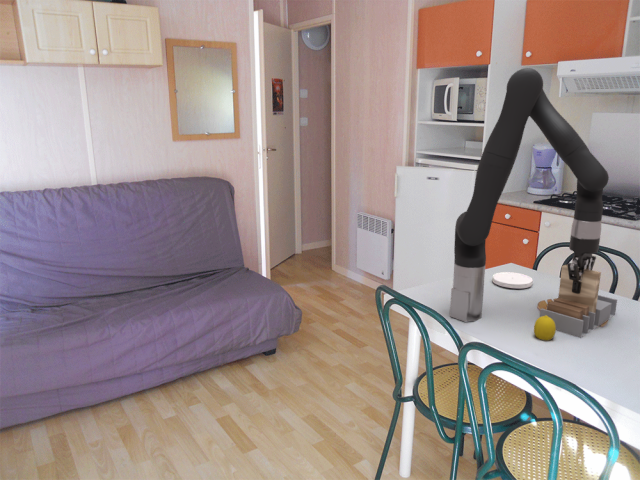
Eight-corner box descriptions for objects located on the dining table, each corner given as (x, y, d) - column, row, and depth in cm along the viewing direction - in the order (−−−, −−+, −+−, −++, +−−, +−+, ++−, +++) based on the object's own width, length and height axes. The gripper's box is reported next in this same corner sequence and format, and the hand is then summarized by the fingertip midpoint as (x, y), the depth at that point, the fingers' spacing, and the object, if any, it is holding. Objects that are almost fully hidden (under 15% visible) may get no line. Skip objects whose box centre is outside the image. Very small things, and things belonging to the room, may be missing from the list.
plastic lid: (485, 279, 196) (485, 273, 195) (518, 277, 198) (519, 271, 198) (504, 292, 183) (504, 285, 182) (540, 289, 185) (540, 282, 184)
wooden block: (590, 326, 149) (597, 274, 145) (556, 316, 156) (561, 266, 152) (593, 324, 150) (601, 272, 146) (559, 314, 158) (565, 264, 154)
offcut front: (576, 335, 144) (579, 311, 143) (545, 325, 151) (547, 303, 149) (580, 332, 146) (583, 309, 144) (549, 322, 153) (551, 300, 151)
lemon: (536, 336, 148) (538, 310, 146) (556, 341, 144) (559, 314, 142) (529, 342, 143) (532, 316, 141) (550, 348, 140) (553, 321, 138)
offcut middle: (582, 331, 147) (585, 308, 145) (551, 321, 153) (554, 299, 152) (586, 328, 148) (589, 306, 147) (555, 319, 155) (558, 297, 153)
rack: (580, 342, 143) (582, 321, 141) (538, 329, 152) (540, 308, 150) (614, 319, 158) (617, 299, 156) (574, 308, 167) (577, 289, 165)
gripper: (582, 228, 154) (575, 283, 158) (560, 236, 145) (554, 294, 149) (609, 233, 148) (601, 289, 153) (588, 241, 139) (580, 301, 144)
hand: (578, 291), depth 151 cm, fingers closed on wooden block, 2 cm apart
